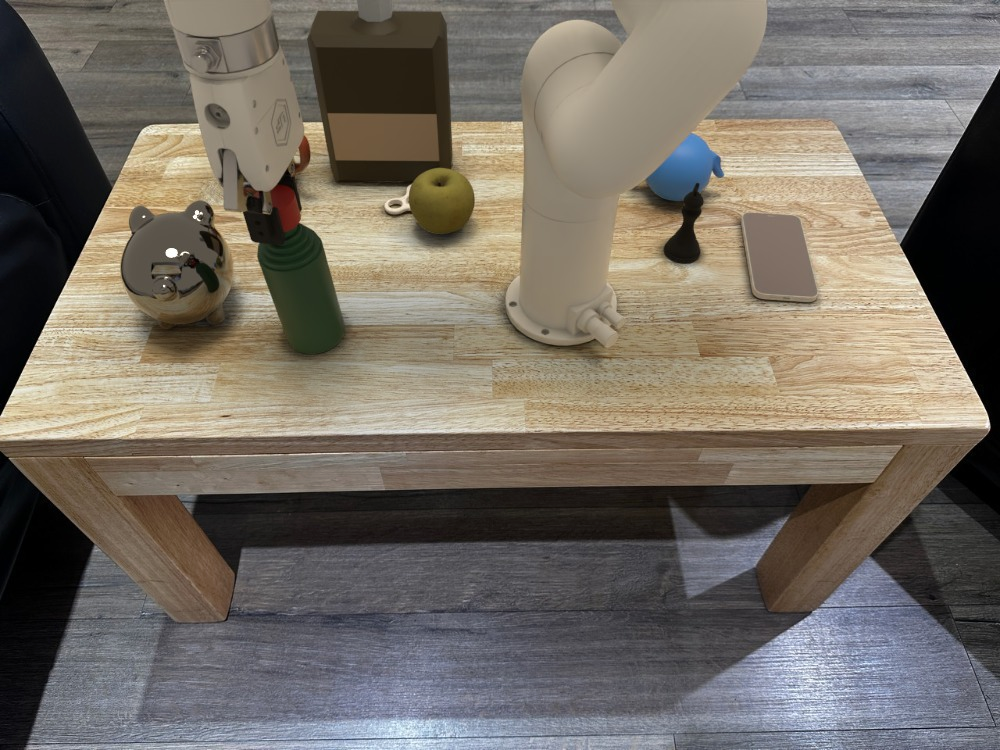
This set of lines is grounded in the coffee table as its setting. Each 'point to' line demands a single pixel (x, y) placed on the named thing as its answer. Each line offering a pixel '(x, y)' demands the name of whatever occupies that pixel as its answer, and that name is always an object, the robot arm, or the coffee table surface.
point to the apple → (441, 200)
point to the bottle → (382, 91)
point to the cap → (285, 206)
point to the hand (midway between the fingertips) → (277, 224)
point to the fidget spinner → (400, 201)
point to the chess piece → (686, 231)
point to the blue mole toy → (685, 170)
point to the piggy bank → (177, 265)
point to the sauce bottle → (303, 291)
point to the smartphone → (778, 257)
